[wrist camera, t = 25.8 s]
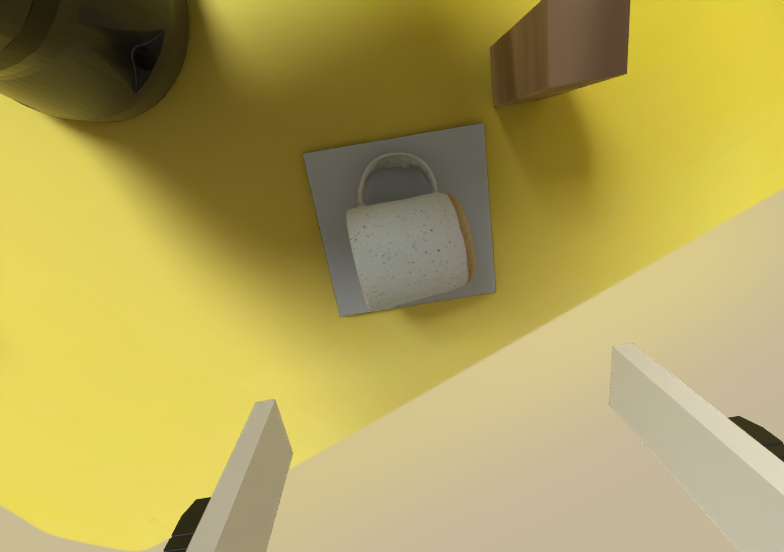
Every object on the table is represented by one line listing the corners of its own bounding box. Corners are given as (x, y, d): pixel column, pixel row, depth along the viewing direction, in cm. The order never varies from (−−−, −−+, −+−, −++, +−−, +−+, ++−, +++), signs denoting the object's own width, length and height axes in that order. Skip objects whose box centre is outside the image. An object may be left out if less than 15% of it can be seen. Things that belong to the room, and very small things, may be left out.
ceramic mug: (463, 268, 32) (488, 302, 24) (371, 290, 32) (368, 330, 25) (438, 140, 28) (458, 135, 21) (336, 167, 29) (320, 171, 21)
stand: (493, 107, 28) (548, 87, 19) (490, 47, 27) (547, -5, 18) (921, 33, 27) (1196, -25, 18) (939, -32, 26) (1245, -130, 17)
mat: (340, 313, 33) (340, 316, 33) (304, 153, 29) (302, 153, 28) (493, 289, 33) (495, 291, 32) (481, 123, 28) (483, 122, 28)
